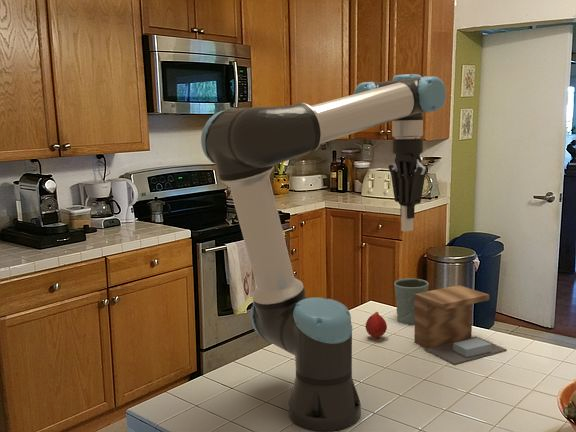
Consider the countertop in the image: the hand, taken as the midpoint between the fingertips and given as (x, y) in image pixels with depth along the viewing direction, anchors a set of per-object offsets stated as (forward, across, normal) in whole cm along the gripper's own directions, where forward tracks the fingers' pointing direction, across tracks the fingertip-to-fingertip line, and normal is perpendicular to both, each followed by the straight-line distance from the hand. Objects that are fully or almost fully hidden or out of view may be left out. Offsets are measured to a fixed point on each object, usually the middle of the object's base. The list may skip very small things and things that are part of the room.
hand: (407, 230), depth 147 cm
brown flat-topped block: (+32, -2, -13) cm, 35 cm away
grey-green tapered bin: (+33, +18, -16) cm, 41 cm away
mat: (+32, -8, -13) cm, 36 cm away
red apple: (+33, +11, +2) cm, 34 cm away
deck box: (+30, -10, -13) cm, 34 cm away
